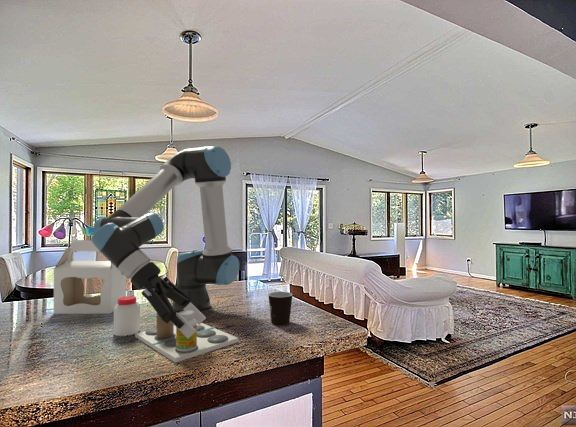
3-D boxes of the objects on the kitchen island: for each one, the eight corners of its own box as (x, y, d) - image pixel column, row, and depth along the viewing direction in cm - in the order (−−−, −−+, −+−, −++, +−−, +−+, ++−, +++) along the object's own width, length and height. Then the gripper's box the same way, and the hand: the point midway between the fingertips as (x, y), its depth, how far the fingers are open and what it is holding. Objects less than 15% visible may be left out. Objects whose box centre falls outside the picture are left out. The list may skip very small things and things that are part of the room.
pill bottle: (113, 337, 103) (113, 302, 103) (113, 330, 110) (113, 296, 110) (140, 333, 107) (140, 299, 107) (139, 326, 114) (139, 294, 114)
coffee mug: (290, 327, 113) (290, 297, 113) (265, 325, 115) (265, 296, 115) (296, 317, 124) (296, 290, 125) (273, 315, 126) (273, 289, 126)
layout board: (135, 337, 104) (135, 306, 104) (193, 322, 118) (193, 295, 118) (175, 362, 85) (175, 325, 86) (238, 342, 100) (238, 310, 100)
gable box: (126, 304, 142) (127, 239, 142) (111, 313, 129) (111, 241, 129) (73, 305, 141) (73, 239, 142) (52, 314, 128) (53, 241, 128)
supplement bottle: (175, 352, 88) (175, 316, 88) (176, 345, 93) (176, 310, 93) (196, 350, 89) (196, 314, 89) (196, 343, 95) (196, 309, 95)
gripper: (147, 273, 103) (198, 324, 103) (109, 289, 80) (174, 354, 80) (165, 255, 103) (216, 306, 103) (131, 266, 80) (196, 332, 80)
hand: (197, 327), depth 91 cm, fingers open, 10 cm apart
